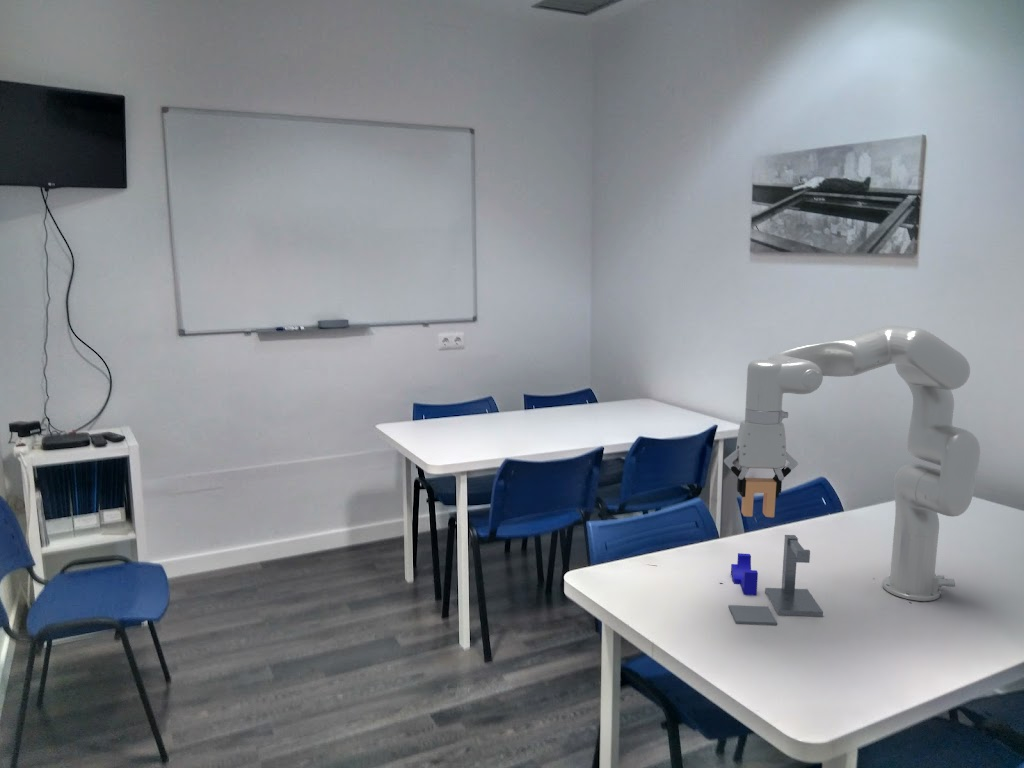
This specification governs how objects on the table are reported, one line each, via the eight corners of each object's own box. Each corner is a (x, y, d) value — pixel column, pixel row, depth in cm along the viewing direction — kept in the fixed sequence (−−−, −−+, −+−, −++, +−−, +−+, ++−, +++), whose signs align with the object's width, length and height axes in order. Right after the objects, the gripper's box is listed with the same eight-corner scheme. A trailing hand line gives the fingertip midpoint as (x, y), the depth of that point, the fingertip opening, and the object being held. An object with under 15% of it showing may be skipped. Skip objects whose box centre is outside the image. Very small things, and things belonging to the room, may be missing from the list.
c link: (770, 512, 170) (772, 478, 169) (774, 517, 167) (776, 482, 166) (741, 511, 170) (743, 477, 169) (744, 516, 168) (746, 481, 166)
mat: (767, 608, 176) (768, 606, 176) (776, 625, 168) (777, 622, 168) (728, 607, 177) (728, 605, 177) (735, 623, 169) (735, 621, 169)
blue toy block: (730, 574, 196) (731, 552, 195) (748, 576, 195) (750, 553, 194) (737, 595, 184) (738, 571, 183) (756, 596, 183) (757, 573, 182)
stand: (806, 593, 184) (811, 533, 182) (822, 616, 172) (827, 552, 170) (764, 592, 185) (768, 532, 182) (777, 615, 173) (781, 551, 171)
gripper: (798, 413, 168) (793, 491, 171) (719, 412, 170) (715, 489, 172) (809, 421, 161) (803, 502, 164) (726, 419, 162) (722, 499, 165)
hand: (758, 494), depth 168 cm, fingers closed on c link, 6 cm apart
